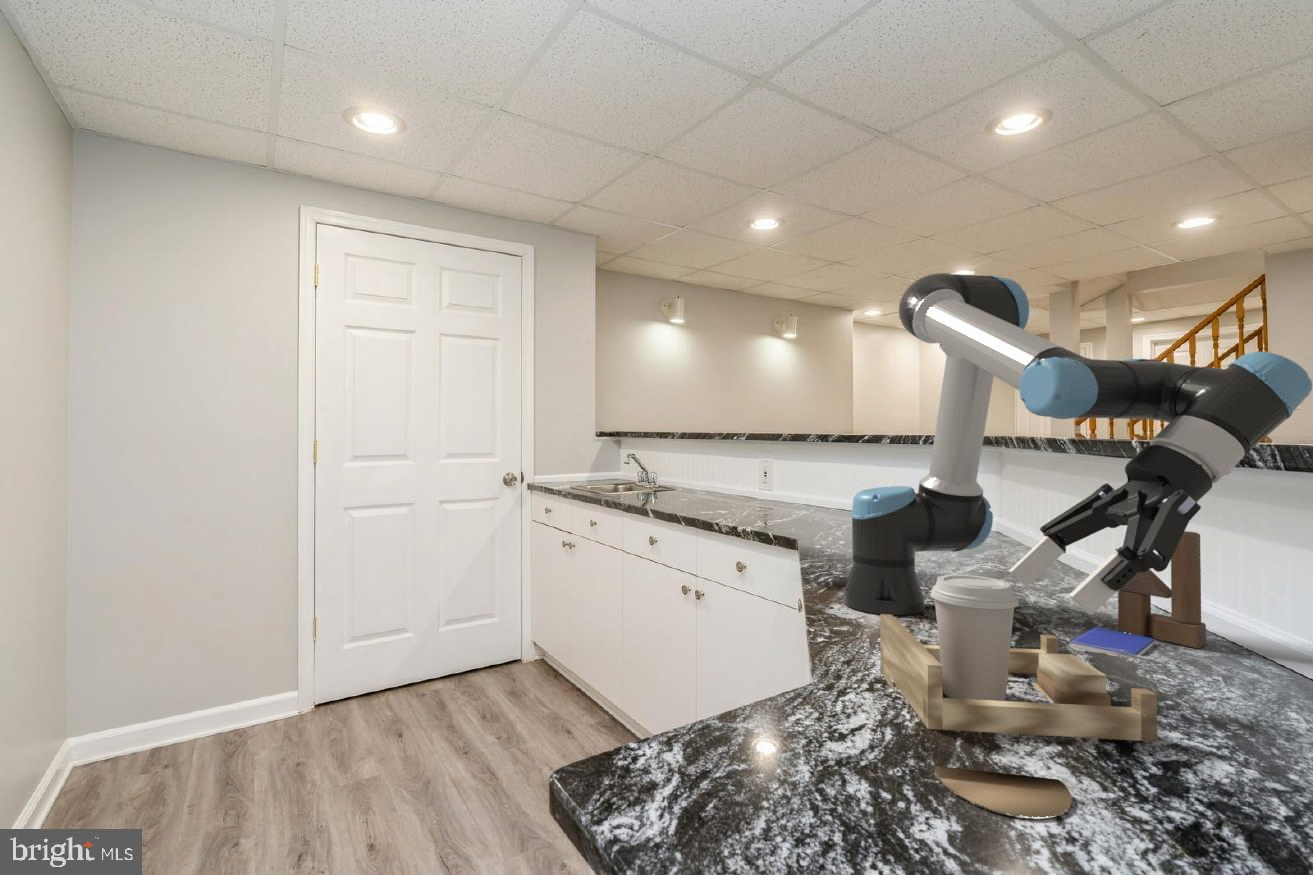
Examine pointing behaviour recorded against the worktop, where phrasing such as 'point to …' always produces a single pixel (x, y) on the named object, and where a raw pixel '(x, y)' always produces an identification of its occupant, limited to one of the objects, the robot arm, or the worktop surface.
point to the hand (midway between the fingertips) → (1045, 591)
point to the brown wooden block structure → (1182, 593)
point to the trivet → (1008, 791)
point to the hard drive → (1112, 642)
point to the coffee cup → (974, 635)
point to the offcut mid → (1070, 693)
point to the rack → (923, 689)
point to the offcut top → (1072, 673)
